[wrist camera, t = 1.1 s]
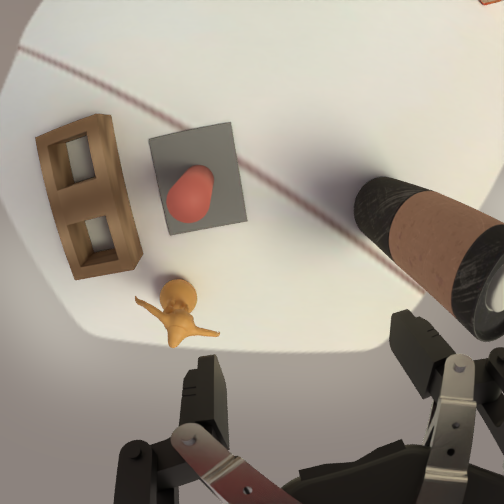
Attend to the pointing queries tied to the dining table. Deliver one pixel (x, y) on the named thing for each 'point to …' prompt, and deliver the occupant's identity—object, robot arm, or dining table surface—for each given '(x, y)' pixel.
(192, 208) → the peg
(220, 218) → the mat
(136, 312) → the dining table surface
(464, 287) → the travel mug
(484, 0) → the cracker box
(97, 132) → the hole block
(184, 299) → the figurine
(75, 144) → the dining table surface
